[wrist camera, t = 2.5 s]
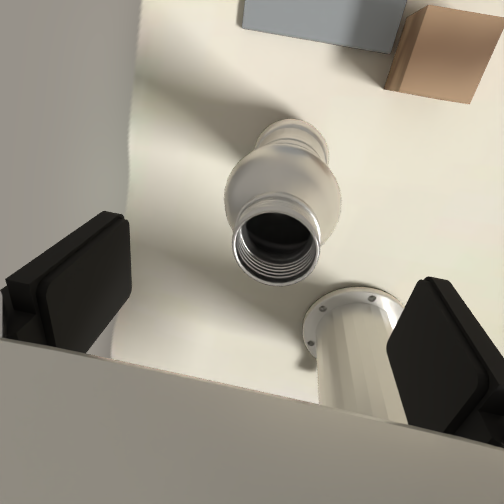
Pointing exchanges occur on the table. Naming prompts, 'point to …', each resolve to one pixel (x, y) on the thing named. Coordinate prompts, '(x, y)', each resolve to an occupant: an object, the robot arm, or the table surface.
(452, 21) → the walnut block
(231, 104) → the table surface
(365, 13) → the slate mat
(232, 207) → the plastic bottle
